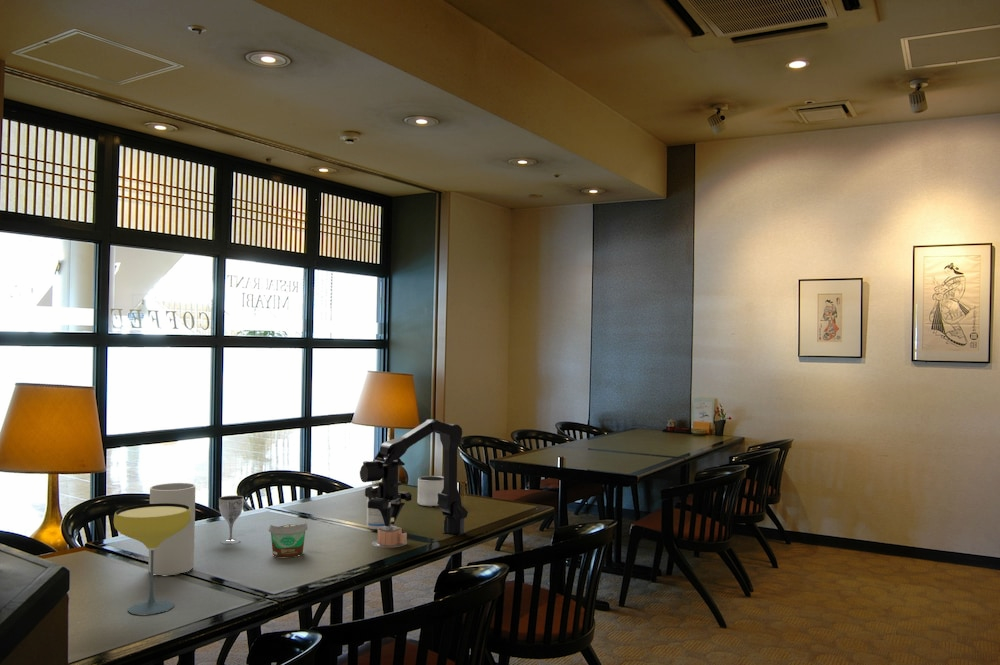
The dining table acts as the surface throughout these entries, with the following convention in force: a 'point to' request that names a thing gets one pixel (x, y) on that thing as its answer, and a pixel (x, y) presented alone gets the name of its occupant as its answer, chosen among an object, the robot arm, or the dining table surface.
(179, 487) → the cylinder vase
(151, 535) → the cocktail glass
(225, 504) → the wine glass
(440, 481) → the planter
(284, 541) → the food container
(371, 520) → the supplement tub
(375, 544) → the disc
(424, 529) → the dining table surface
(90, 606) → the dining table surface
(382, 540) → the orange slatted barrel
